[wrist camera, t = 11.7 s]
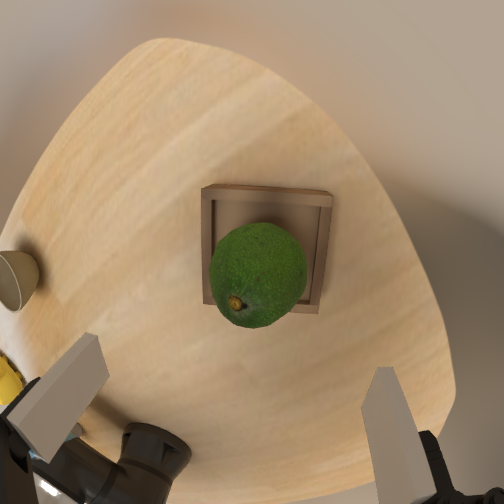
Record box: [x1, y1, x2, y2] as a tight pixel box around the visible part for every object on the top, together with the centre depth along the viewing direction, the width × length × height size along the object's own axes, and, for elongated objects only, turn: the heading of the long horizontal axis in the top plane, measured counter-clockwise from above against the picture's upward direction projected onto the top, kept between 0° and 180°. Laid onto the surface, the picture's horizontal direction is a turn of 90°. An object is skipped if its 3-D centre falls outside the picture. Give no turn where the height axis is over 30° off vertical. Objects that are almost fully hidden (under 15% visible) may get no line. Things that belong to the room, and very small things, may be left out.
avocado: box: [208, 223, 308, 329], centre depth 22 cm, size 8×8×12 cm
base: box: [201, 184, 333, 314], centre depth 29 cm, size 12×12×4 cm
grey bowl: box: [0, 251, 40, 313], centre depth 34 cm, size 10×10×7 cm
